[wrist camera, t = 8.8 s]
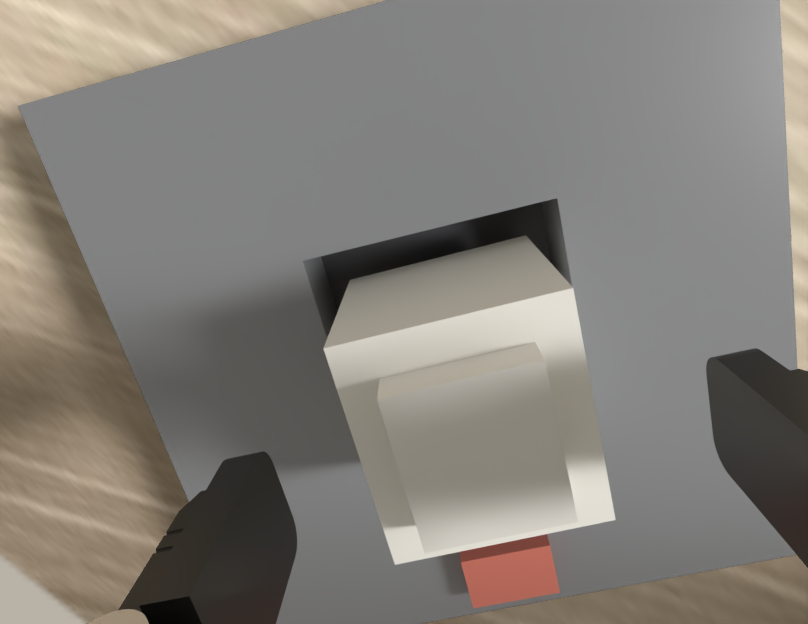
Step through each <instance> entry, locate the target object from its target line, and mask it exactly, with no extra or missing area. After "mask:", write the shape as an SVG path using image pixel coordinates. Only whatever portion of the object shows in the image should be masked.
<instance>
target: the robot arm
mask: <svg viewBox="0 0 808 624" xmlns="http://www.w3.org/2000/svg"><path fill="white" fill-rule="evenodd" d="M706 375H707V384H708V394H709V403H710V412H711V422H712V431H713V439H714V444H715V447H716V451H717V454H718V456H719V459H720V461H721V463H722V465H723V467H724V468H725V470H726V471H727V473H728V474H729V475H730V477H731V478H732V479H733V480H734V481H735V482H736V484H737V485H738V486H739V487H740V488H741V490H742V491H743V492H744V493H745V494H746V495H747V497H748V498H749V499H750V500H751V501H752V502H753V504H754V505H755V506H756V507H757V508H758V510H759V511H760V512H761V513H762V514H763V515H764V517H765V518H766V519H767V520H768V521H769V523H770V524H771V525H772V526H773V527H774V528H775V530H776V531H777V532H778V533H779V534H780V535H781V537H782V538H783V539H784V540H785V541H786V543H787V544H788V545H789V546H790V547H791V548H792V550H793V551H794V552H795V553H796V554H797V555H798V557H799V558H800V559H801V560H802V561H803V563H804V564H805V565H806V566H807V567H808V371H804V370H801V369H795V370H789V369H787V368H786V367H784V366H783V365H781V364H780V363H778V362H777V361H776V360H774V359H773V358H771V357H770V356H768V355H767V354H766V353H764V352H763V351H761V350H759V349H757V348H753V349H748V350H744V351H739V352H734V353H730V354H725V355H720V356H715V357H711V358H709V359H708V361H707V365H706ZM296 552H297V532H296V526H295V522H294V518H293V515H292V513H291V510H290V507H289V505H288V502H287V499H286V497H285V494H284V491H283V488H282V486H281V483H280V480H279V478H278V475H277V472H276V469H275V467H274V464H273V462H272V459H271V458H270V456H269V455H268V454H267V453H266V452H264V451H262V452H257V453H253V454H248V455H243V456H238V457H234V458H229V459H225V460H224V461H223V462H222V463H221V465H220V467H219V468H218V470H217V472H216V474H215V475H214V477H213V479H212V481H211V482H210V484H209V486H208V487H207V489H206V490H204V491H201V492H199V493H198V494H197V495H196V496H195V497H194V498H193V499H192V500H191V501H190V502H189V503H188V504H187V505H186V506H184V507H183V508H182V509H181V510H180V511H179V513H178V514H177V516H176V518H175V519H174V521H173V522H172V524H171V526H170V527H169V529H168V531H167V536H164V537H163V539H162V540H161V542H160V544H159V545H158V547H157V548H156V553H155V554H153V555H152V557H151V558H150V560H149V561H148V563H147V565H146V566H145V568H144V569H143V571H142V573H141V574H140V576H139V578H138V579H137V581H136V582H135V584H134V586H133V587H132V589H131V591H130V592H129V594H128V595H127V597H126V599H125V600H124V602H123V604H122V605H121V607H120V608H119V610H118V611H114V612H111V613H108V614H105V615H103V616H100V617H98V618H96V619H94V620H92V621H90V622H89V623H87V624H276V622H277V618H278V615H279V611H280V608H281V604H282V601H283V598H284V594H285V591H286V587H287V584H288V580H289V577H290V574H291V570H292V567H293V563H294V560H295V556H296Z"/></svg>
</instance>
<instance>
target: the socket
mask: <svg viewBox="0 0 808 624" xmlns="http://www.w3.org/2000/svg"><path fill="white" fill-rule="evenodd" d="M18 107H19V110H20V112H21V114H22V117H23V119H24V121H25V124H26V126H27V128H28V131H29V133H30V135H31V138H32V140H33V142H34V144H35V147H36V149H37V151H38V154H39V156H40V158H41V161H42V163H43V165H44V168H45V170H46V172H47V175H48V177H49V179H50V182H51V184H52V186H53V188H54V191H55V193H56V195H57V198H58V200H59V202H60V205H61V207H62V209H63V212H64V214H65V216H66V219H67V221H68V223H69V226H70V228H71V230H72V232H73V235H74V237H75V239H76V242H77V244H78V246H79V249H80V251H81V253H82V256H83V258H84V260H85V263H86V265H87V267H88V269H89V272H90V274H91V276H92V279H93V281H94V283H95V286H96V288H97V290H98V293H99V295H100V297H101V300H102V302H103V304H104V307H105V309H106V311H107V313H108V316H109V318H110V320H111V323H112V325H113V327H114V330H115V332H116V334H117V337H118V339H119V341H120V344H121V346H122V348H123V351H124V353H125V355H126V357H127V360H128V362H129V364H130V367H131V369H132V371H133V374H134V376H135V378H136V381H137V383H138V385H139V388H140V390H141V392H142V394H143V397H144V399H145V401H146V404H147V406H148V408H149V411H150V413H151V415H152V418H153V420H154V422H155V425H156V427H157V429H158V432H159V434H160V436H161V438H162V441H163V443H164V445H165V448H166V450H167V452H168V455H169V457H170V459H171V462H172V464H173V466H174V469H175V471H176V473H177V476H178V478H179V480H180V482H181V485H182V487H183V489H184V492H185V494H186V496H187V499H188V501H189V502H190V501H191V500H192V499H193V498H194V497H195V496H196V495H197V494H198V493H199V492H201V491H204V490H206V489H207V487H208V486H209V484H210V482H211V481H212V479H213V477H214V475H215V474H216V472H217V470H218V468H219V467H220V465H221V463H222V462H223V461H224V460H225V459H229V458H234V457H238V456H243V455H248V454H253V453H257V452H262V451H264V452H266V453H267V454H268V455H269V456H270V458H271V459H272V462H273V464H274V467H275V469H276V472H277V475H278V478H279V480H280V483H281V486H282V488H283V491H284V494H285V497H286V499H287V502H288V505H289V507H290V510H291V513H292V515H293V518H294V522H295V526H296V532H297V552H296V556H295V560H294V563H293V567H292V570H291V574H290V577H289V580H288V584H287V587H286V591H285V594H284V598H283V601H282V604H281V608H280V611H279V615H278V618H277V622H276V624H421V623H427V622H432V621H438V620H443V619H449V618H454V617H460V616H465V615H471V614H476V613H482V612H487V611H493V610H498V609H503V608H509V607H514V606H520V605H525V604H531V603H536V602H542V601H547V600H553V599H558V598H564V597H569V596H575V595H580V594H586V593H591V592H596V591H602V590H607V589H613V588H618V587H624V586H629V585H635V584H640V583H646V582H651V581H657V580H662V579H668V578H673V577H679V576H684V575H689V574H695V573H700V572H706V571H711V570H717V569H722V568H728V567H733V566H739V565H744V564H750V563H755V562H761V561H766V560H772V559H777V558H782V557H788V556H793V555H797V554H796V553H795V552H794V551H793V550H792V548H791V547H790V546H789V545H788V544H787V543H786V541H785V540H784V539H783V538H782V537H781V535H780V534H779V533H778V532H777V531H776V530H775V528H774V527H773V526H772V525H771V524H770V523H769V521H768V520H767V519H766V518H765V517H764V515H763V514H762V513H761V512H760V511H759V510H758V508H757V507H756V506H755V505H754V504H753V502H752V501H751V500H750V499H749V498H748V497H747V495H746V494H745V493H744V492H743V491H742V490H741V488H740V487H739V486H738V485H737V484H736V482H735V481H734V480H733V479H732V478H731V477H730V475H729V474H728V473H727V471H726V470H725V468H724V467H723V465H722V463H721V461H720V459H719V456H718V454H717V451H716V447H715V444H714V439H713V431H712V422H711V412H710V403H709V394H708V384H707V375H706V365H707V361H708V359H709V358H711V357H715V356H720V355H725V354H730V353H734V352H739V351H744V350H748V349H753V348H757V349H759V350H761V351H763V352H764V353H766V354H767V355H768V356H770V357H771V358H773V359H774V360H776V361H777V362H778V363H780V364H781V365H783V366H784V367H786V368H787V369H789V370H795V369H797V351H796V330H795V310H794V289H793V268H792V248H791V227H790V206H789V186H788V165H787V144H786V124H785V103H784V82H783V62H782V41H781V20H780V0H387V1H383V2H380V3H376V4H373V5H369V6H366V7H362V8H359V9H355V10H352V11H348V12H345V13H341V14H338V15H334V16H331V17H327V18H324V19H320V20H317V21H313V22H310V23H306V24H303V25H299V26H296V27H292V28H289V29H285V30H282V31H278V32H275V33H271V34H268V35H264V36H261V37H257V38H254V39H250V40H247V41H243V42H240V43H236V44H233V45H229V46H226V47H222V48H219V49H215V50H212V51H208V52H205V53H201V54H198V55H194V56H191V57H188V58H184V59H181V60H177V61H174V62H170V63H167V64H163V65H160V66H156V67H153V68H149V69H146V70H142V71H139V72H135V73H132V74H128V75H125V76H121V77H118V78H114V79H111V80H107V81H104V82H100V83H97V84H93V85H90V86H86V87H83V88H79V89H76V90H72V91H69V92H65V93H62V94H58V95H55V96H51V97H48V98H44V99H41V100H37V101H34V102H30V103H27V104H23V105H20V106H18ZM525 235H526V236H527V237H528V238H529V239H530V241H531V242H532V243H533V244H534V245H535V246H536V247H537V248H538V249H539V250H540V252H541V253H542V254H543V255H544V256H545V257H546V258H547V259H548V260H549V262H550V263H551V264H552V265H553V266H554V267H555V268H556V269H557V270H558V271H559V273H560V274H561V275H562V276H563V277H564V278H565V279H566V280H567V281H568V283H569V284H570V285H571V286H572V287H573V289H574V294H575V300H576V305H577V311H578V316H579V322H580V327H581V333H582V338H583V344H584V349H585V355H586V360H587V366H588V371H589V376H590V382H591V387H592V393H593V398H594V404H595V409H596V415H597V420H598V426H599V431H600V437H601V442H602V448H603V453H604V459H605V464H606V470H607V475H608V481H609V486H610V492H611V497H612V502H613V508H614V513H615V519H616V520H613V521H608V522H603V523H599V524H594V525H589V526H584V527H579V528H574V529H569V530H564V531H559V532H554V533H549V534H544V535H540V536H535V537H530V538H525V539H520V540H515V541H510V542H505V543H500V544H495V545H490V546H485V547H481V548H476V549H471V550H466V551H461V552H456V553H451V554H446V555H441V556H436V557H431V558H426V559H422V560H417V561H412V562H407V563H402V564H397V565H395V564H394V561H393V558H392V555H391V552H390V549H389V546H388V543H387V539H386V536H385V533H384V530H383V527H382V524H381V521H380V518H379V515H378V512H377V509H376V506H375V503H374V500H373V497H372V494H371V491H370V488H369V485H368V482H367V479H366V476H365V473H364V470H363V467H362V464H361V461H360V458H359V455H358V452H357V449H356V446H355V443H354V440H353V437H352V434H351V431H350V428H349V425H348V422H347V419H346V416H345V413H344V410H343V407H342V404H341V401H340V398H339V395H338V392H337V388H336V385H335V382H334V379H333V376H332V373H331V370H330V367H329V364H328V361H327V358H326V355H325V352H324V349H323V348H324V346H325V343H326V340H327V338H328V335H329V333H330V330H331V328H332V325H333V322H334V320H335V317H336V315H337V312H338V309H339V307H340V304H341V302H342V299H343V297H344V294H345V291H346V289H347V286H348V284H349V281H350V280H352V279H356V278H360V277H364V276H367V275H371V274H375V273H379V272H383V271H387V270H391V269H395V268H399V267H403V266H407V265H411V264H415V263H419V262H423V261H427V260H431V259H434V258H438V257H442V256H446V255H450V254H454V253H458V252H462V251H466V250H470V249H474V248H478V247H482V246H486V245H490V244H494V243H497V242H501V241H505V240H509V239H513V238H517V237H521V236H525Z"/></svg>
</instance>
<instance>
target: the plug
mask: <svg viewBox="0 0 808 624" xmlns="http://www.w3.org/2000/svg"><path fill="white" fill-rule="evenodd" d="M323 349H324V352H325V355H326V358H327V361H328V364H329V367H330V370H331V373H332V376H333V379H334V382H335V385H336V388H337V392H338V395H339V398H340V401H341V404H342V407H343V410H344V413H345V416H346V419H347V422H348V425H349V428H350V431H351V434H352V437H353V440H354V443H355V446H356V449H357V452H358V455H359V458H360V461H361V464H362V467H363V470H364V473H365V476H366V479H367V482H368V485H369V488H370V491H371V494H372V497H373V500H374V503H375V506H376V509H377V512H378V515H379V518H380V521H381V524H382V527H383V530H384V533H385V536H386V539H387V543H388V546H389V549H390V552H391V555H392V558H393V561H394V564H395V565H397V564H402V563H407V562H412V561H417V560H422V559H426V558H431V557H436V556H441V555H446V554H451V553H456V552H461V551H466V550H471V549H476V548H481V547H485V546H490V545H495V544H500V543H505V542H510V541H515V540H520V539H525V538H530V537H535V536H540V535H544V534H549V533H554V532H559V531H564V530H569V529H574V528H579V527H584V526H589V525H594V524H599V523H603V522H608V521H613V520H616V519H615V513H614V508H613V502H612V497H611V492H610V486H609V481H608V475H607V470H606V464H605V459H604V453H603V448H602V442H601V437H600V431H599V426H598V420H597V415H596V409H595V404H594V398H593V393H592V387H591V382H590V376H589V371H588V366H587V360H586V355H585V349H584V344H583V338H582V333H581V327H580V322H579V316H578V311H577V305H576V300H575V294H574V289H573V287H572V286H571V285H570V284H569V283H568V281H567V280H566V279H565V278H564V277H563V276H562V275H561V274H560V273H559V271H558V270H557V269H556V268H555V267H554V266H553V265H552V264H551V263H550V262H549V260H548V259H547V258H546V257H545V256H544V255H543V254H542V253H541V252H540V250H539V249H538V248H537V247H536V246H535V245H534V244H533V243H532V242H531V241H530V239H529V238H528V237H527V236H526V235H525V236H521V237H517V238H513V239H509V240H505V241H501V242H497V243H494V244H490V245H486V246H482V247H478V248H474V249H470V250H466V251H462V252H458V253H454V254H450V255H446V256H442V257H438V258H434V259H431V260H427V261H423V262H419V263H415V264H411V265H407V266H403V267H399V268H395V269H391V270H387V271H383V272H379V273H375V274H371V275H367V276H364V277H360V278H356V279H352V280H350V281H349V284H348V286H347V289H346V291H345V294H344V297H343V299H342V302H341V304H340V307H339V309H338V312H337V315H336V317H335V320H334V322H333V325H332V328H331V330H330V333H329V335H328V338H327V340H326V343H325V346H324V348H323Z"/></svg>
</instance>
